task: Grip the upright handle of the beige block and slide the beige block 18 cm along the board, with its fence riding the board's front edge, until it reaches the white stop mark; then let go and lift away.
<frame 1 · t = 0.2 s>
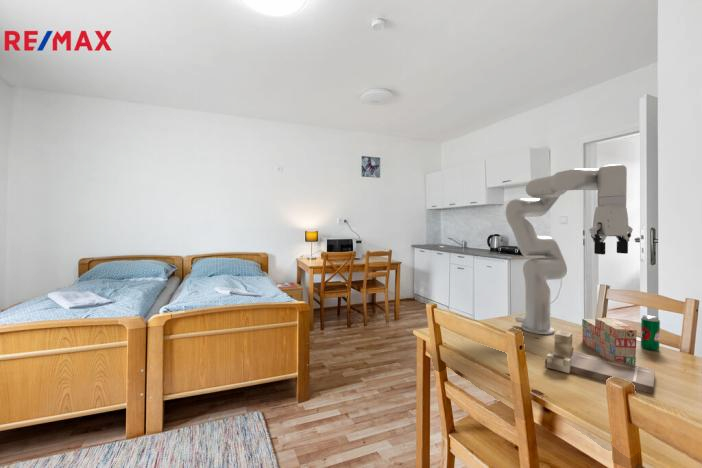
hand: (611, 253, 107), 37 cm above the table, tool pointing down, fingers open, 9 cm apart
beige block: (562, 348, 106), point 5 cm above the table, slide at 0.0 cm
stack of blocks: (606, 353, 116), on the table
board: (597, 370, 102), on the table
soda can: (649, 349, 119), on the table
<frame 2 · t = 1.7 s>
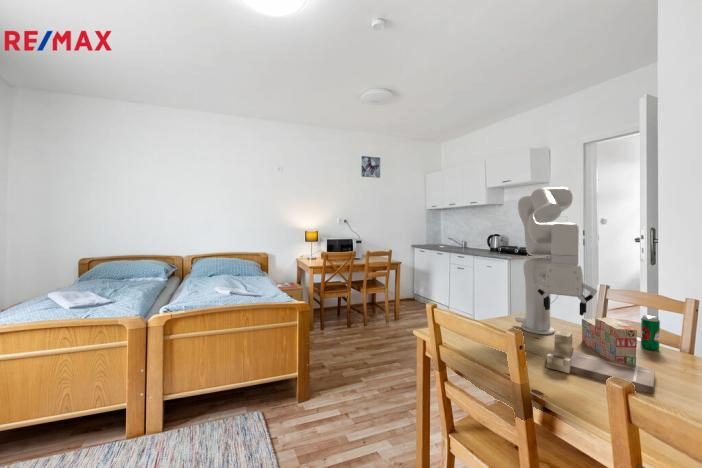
hand: (564, 311, 106), 18 cm above the table, tool pointing down, fingers open, 9 cm apart
nothing on the table moved.
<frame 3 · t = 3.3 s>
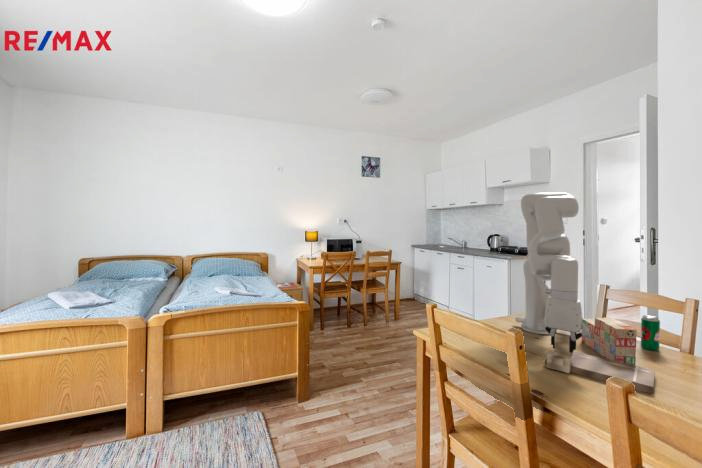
hand: (563, 348, 106), 5 cm above the table, tool pointing down, fingers closed on beige block, 4 cm apart
beige block: (562, 348, 106), point 5 cm above the table, slide at 0.0 cm, touching gripper
everything else where it was.
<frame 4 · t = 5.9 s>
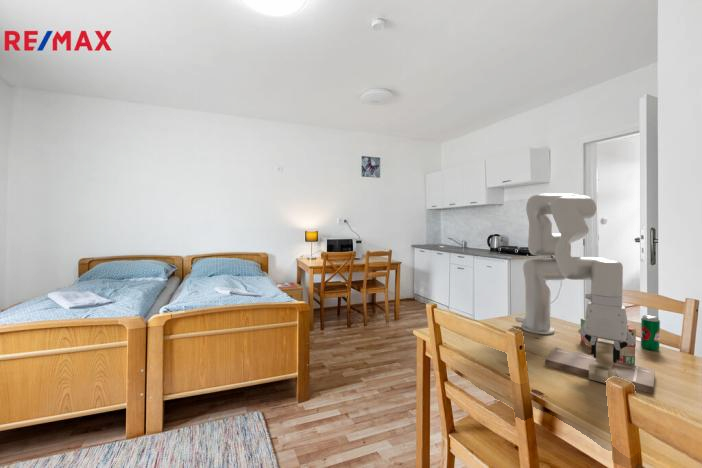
hand: (605, 358, 99), 5 cm above the table, tool pointing down, fingers closed on beige block, 4 cm apart
beige block: (605, 358, 98), point 5 cm above the table, slide at 11.0 cm, touching gripper
everything else where it was.
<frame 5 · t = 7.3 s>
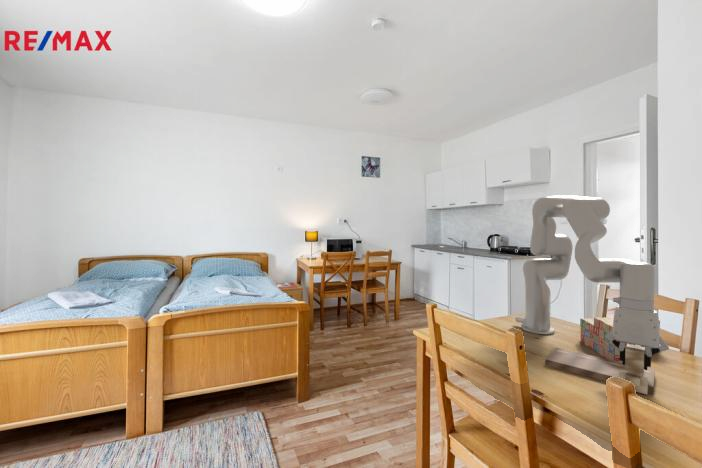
hand: (634, 365, 94), 5 cm above the table, tool pointing down, fingers closed on beige block, 4 cm apart
beige block: (634, 365, 93), point 5 cm above the table, slide at 17.9 cm, touching gripper
everything else where it was.
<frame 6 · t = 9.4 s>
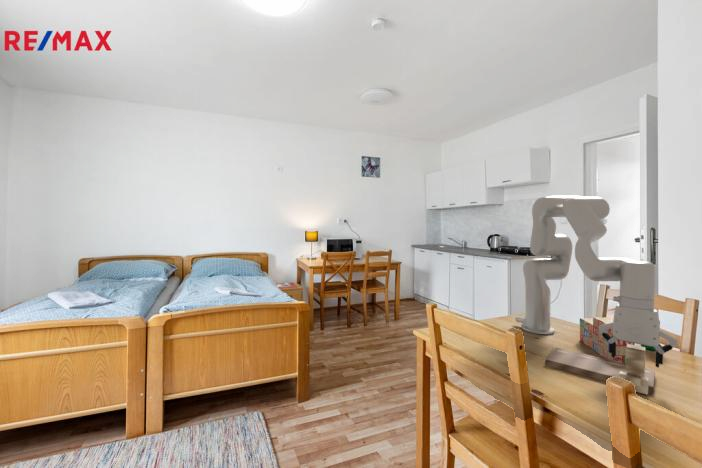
hand: (634, 360, 94), 6 cm above the table, tool pointing down, fingers open, 9 cm apart
beige block: (635, 365, 93), point 5 cm above the table, slide at 18.0 cm
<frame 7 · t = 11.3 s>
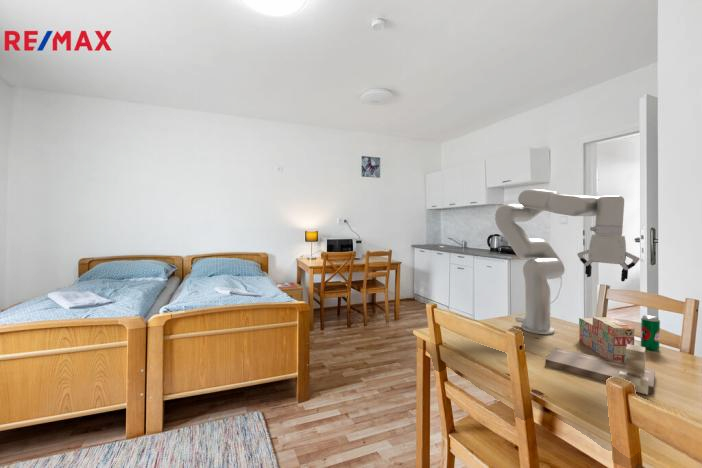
hand: (605, 278, 114), 27 cm above the table, tool pointing down, fingers open, 9 cm apart
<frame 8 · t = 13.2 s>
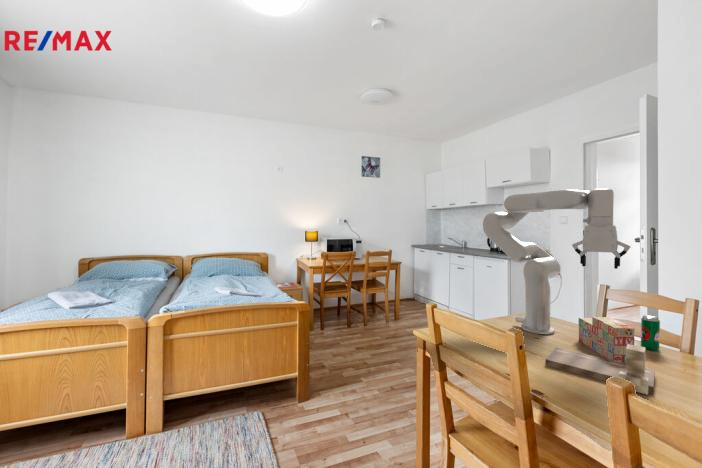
hand: (599, 267, 120), 30 cm above the table, tool pointing down, fingers open, 9 cm apart
at the end: beige block slide at 18.0 cm; the gripper is holding nothing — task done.
